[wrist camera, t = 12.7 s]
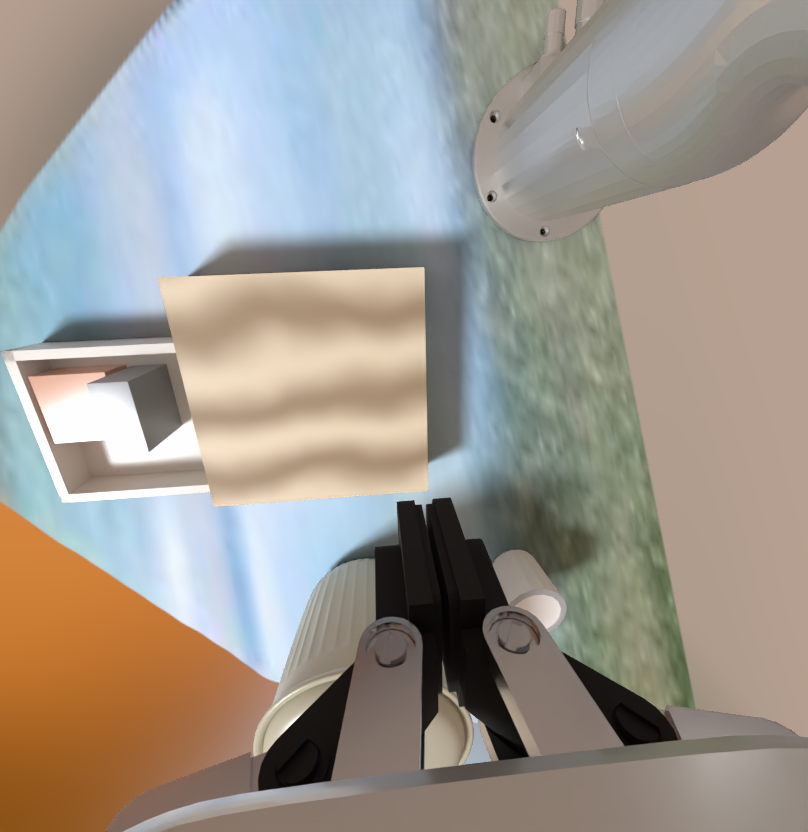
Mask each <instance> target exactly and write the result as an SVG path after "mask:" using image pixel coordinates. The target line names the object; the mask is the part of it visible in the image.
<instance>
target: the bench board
mask: <svg viewBox="0 0 808 832" xmlns="http://www.w3.org/2000/svg"><path fill="white" fill-rule="evenodd" d="M158 282H159V286H160V291H161V295H162V299H163V303H164V307H165V311H166V315H167V319H168V323H169V327H170V331H171V335H172V339H173V343H174V347H175V351H176V355H177V359H178V363H179V367H180V372H181V376H182V380H183V384H184V388H185V392H186V396H187V400H188V404H189V408H190V412H191V416H192V420H193V424H194V428H195V432H196V436H197V440H198V444H199V448H200V452H201V457H202V461H203V465H204V469H205V473H206V477H207V481H208V485H209V489H210V493H211V497H212V501H213V505H214V507H218V506H231V505H245V504H258V503H272V502H285V501H298V500H312V499H325V498H338V497H352V496H365V495H379V494H392V493H405V492H419V491H428V445H427V388H426V331H425V274H424V267H412V268H387V269H362V270H337V271H311V272H286V273H261V274H236V275H211V276H185V277H160V278H158Z"/></svg>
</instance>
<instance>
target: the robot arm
mask: <svg viewBox="0 0 808 832" xmlns="http://www.w3.org/2000/svg"><path fill="white" fill-rule="evenodd" d="M565 19H566V10H565V9H562V8H558V9H554V10H551V11H549V12H548V13H547V14H546V16H545V28H544V55H542V56H541V57H540V58H539V61H538V62H537V63H536V64H534V65H532V66H530V67H528V68H525V69H524V70H522V71H521V72H519V73H518V74H517V75H515V76H514V77H512V78H511V79H510V80H509V81H508V82H507V83H506V84H505V85H504V86H503V87H502V88H501V89H500V90H499V91H498V93H497V94H496V96H495V97H494V98H493V100H492V101H491V103H490V104H489V106H488V108H487V110H486V112H485V113H484V115H483V117H482V119H481V122H480V125H479V127H478V130H477V133H476V136H475V142H474V147H473V154H472V172H473V179H474V186H475V189H476V192H477V195H478V198H479V201H480V203H481V205H482V207H483V208H484V210H485V212H486V214H487V215H488V216H489V217H490V219H491V220H492V221H493V222H494V224H495V225H497V226H498V227H499V228H500V229H502V230H503V231H504V232H505V233H507V234H509V235H511V236H513V237H515V238H517V239H521V240H525V241H529V242H546V241H553V240H557V239H560V238H563V237H567V236H569V235H571V234H573V233H575V232H577V231H578V230H580V229H582V228H583V227H584V226H585V225H587V224H588V223H589V222H591V221H592V220H593V219H594V218H595V217H596V215H597V214H598V213H599V212H600V211H601V210H602V209H603V208H604V207H606V206H610V205H613V204H617V203H620V202H624V201H628V200H631V199H635V198H638V197H642V196H646V195H649V194H653V193H657V192H660V191H664V190H668V189H671V188H675V187H679V186H682V185H685V184H689V183H691V182H694V181H698V180H701V179H705V178H709V177H711V176H714V175H716V174H719V173H722V172H724V171H727V170H729V169H731V168H733V167H735V166H737V165H739V164H741V163H743V162H745V161H747V160H748V159H750V158H751V157H753V156H754V155H756V154H757V153H759V152H760V151H761V150H763V149H764V148H766V147H767V146H768V145H769V144H771V143H772V142H773V141H774V140H776V139H777V138H778V137H779V136H781V135H782V134H783V133H784V132H785V131H786V130H787V129H788V128H789V127H790V126H791V125H792V124H793V123H794V122H795V121H796V120H797V119H798V118H799V117H800V116H801V114H802V113H803V112H804V111H805V110H806V109H807V108H808V0H577V8H576V19H575V29H576V34H575V36H574V38H573V39H572V40H571V41H570V42H569V43H568V44H567V46H566V47H565V48H564V49H563V50H562V44H563V36H564V32H565ZM490 117H493V118H494V119H495V122H494V123H492V122H491V120H490ZM488 195H490V196H491V197H492V200H491V201H488V200H487V196H488ZM541 229H542V230H543V234H542V235H541V234H540V230H541ZM397 517H398V536H399V545H395V546H383V547H375V605H376V621H374V622H373V623H372V624H370V625H369V626H368V627H367V628H366V629H365V630H364V632H363V633H362V635H361V638H360V640H359V643H358V648H357V653H356V658H355V662H354V663H353V664H352V665H351V666H350V667H349V668H348V669H347V670H346V671H345V672H344V673H343V674H342V675H341V676H340V677H339V678H338V679H337V680H336V681H335V682H334V683H333V684H332V685H331V686H330V687H329V688H328V689H327V690H326V691H325V692H324V693H323V694H322V695H321V696H320V697H319V698H318V699H317V700H316V701H315V702H314V703H313V704H312V705H311V706H310V707H309V708H308V709H307V710H306V711H305V712H304V713H303V714H302V715H301V716H300V717H299V718H298V719H297V720H296V721H295V722H294V723H293V724H292V725H291V726H290V727H289V728H288V729H287V730H286V731H285V732H284V733H283V734H282V735H281V736H280V737H279V738H278V739H277V740H276V741H275V742H274V743H273V745H272V746H271V747H270V748H269V750H268V751H267V752H265V753H262V754H260V755H257V756H254V757H252V754H251V752H249V753H246V754H244V755H241V756H239V757H236V758H233V759H230V760H228V761H225V762H222V763H219V764H217V765H214V766H211V767H209V768H206V769H203V770H201V771H198V772H195V773H192V774H189V775H187V776H184V777H181V778H179V779H176V780H174V781H170V782H168V783H165V784H162V785H160V786H157V787H154V788H152V789H149V790H147V791H146V792H144V793H142V794H140V795H138V796H136V797H135V798H134V799H132V800H131V801H130V802H129V803H128V804H127V805H126V806H125V807H124V808H123V809H121V810H120V811H119V813H118V814H117V816H116V817H115V818H114V820H113V821H112V822H111V824H110V825H109V827H108V828H107V830H106V832H808V738H807V737H800V736H798V735H797V734H796V733H795V732H793V731H792V730H790V729H788V728H786V727H784V726H783V725H781V724H779V723H777V722H774V721H771V720H767V719H764V718H759V717H751V716H743V715H736V714H728V713H721V712H714V711H706V710H699V709H692V708H684V707H677V706H669V705H667V706H666V709H665V710H658V709H657V708H656V707H655V706H653V705H652V704H651V703H649V702H648V701H646V700H645V699H644V698H642V697H640V696H638V695H637V694H635V693H633V692H631V691H630V690H628V689H626V688H624V687H623V686H621V685H619V684H617V683H616V682H614V681H612V680H610V679H609V678H607V677H605V676H603V675H602V674H600V673H598V672H596V671H595V670H593V669H591V668H589V667H588V666H586V665H584V664H582V663H581V662H579V661H577V660H575V659H574V658H572V657H570V656H568V655H567V654H565V653H563V652H561V651H560V649H559V648H558V646H557V645H556V643H555V642H554V640H553V639H552V637H551V636H550V634H549V633H548V631H547V630H546V628H545V627H544V625H543V624H542V623H541V622H540V620H539V619H538V618H537V617H536V616H534V615H533V614H532V613H530V612H529V611H527V610H524V609H522V608H519V607H514V606H509V604H508V601H507V599H506V597H505V594H504V592H503V589H502V587H501V584H500V582H499V580H498V577H497V575H496V572H495V570H494V567H493V565H492V563H491V560H490V558H489V555H488V553H487V550H486V548H485V546H484V543H483V541H482V540H481V539H467V540H465V538H464V535H463V532H462V529H461V526H460V523H459V520H458V518H457V515H456V512H455V509H454V506H453V503H452V500H451V498H439V499H433V500H432V504H427V505H426V522H427V528H426V524H425V519H424V514H423V510H422V505H415V502H414V500H413V501H400V502H397ZM442 660H443V666H444V671H445V677H446V682H447V687H448V691H449V693H450V692H456V694H457V699H458V704H459V707H465V709H466V710H467V711H468V712H470V713H471V714H472V715H473V716H475V717H476V718H477V719H478V723H479V727H480V732H481V735H482V737H483V740H484V742H485V745H486V748H487V750H488V753H489V756H490V759H491V761H492V762H483V763H475V764H466V765H458V766H450V767H441V768H433V769H425V730H426V729H427V727H428V726H429V725H430V723H431V722H432V720H433V719H434V718H435V716H436V715H437V713H438V694H441V693H442V691H443V688H442Z"/></svg>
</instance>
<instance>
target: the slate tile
mask: <svg viewBox="0 0 808 832" xmlns="http://www.w3.org/2000/svg"><path fill="white" fill-rule="evenodd" d="M87 387H88V390H89V393H90V396H91V399H92V402H93V405H94V408H95V410H96V413H97V416H98V419H99V422H100V425H101V428H102V431H103V434H104V437H105V440H106V443H107V446H108V448H109V451H110V454H111V455H120V454H134V453H149V452H150V451H151V450H153V449H154V448H155V447H156V446H158V445H159V444H160V443H161V442H162V441H164V440H165V439H166V438H167V437H169V436H170V435H171V434H172V433H174V432H175V431H176V430H177V429H178V428H180V427H181V426H182V421H181V418H180V414H179V410H178V406H177V402H176V399H175V395H174V391H173V387H172V383H171V379H170V376H169V372H168V368H167V364H156V365H138V366H130V367H128V368H125V369H123V370H120V371H118V372H115V373H113V374H110V375H108V376H105V377H103V378H100V379H98V380H95V381H92V382H90V383H87Z"/></svg>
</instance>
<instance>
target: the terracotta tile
mask: <svg viewBox="0 0 808 832" xmlns="http://www.w3.org/2000/svg"><path fill="white" fill-rule="evenodd" d="M125 368H127V366H126V364H118V365H102V366H85V367H68V368H55V369H52V370H49V371H45V372H42V373H39V374H36V375H32V376H29V377H28V378H29V380H30V383H31V385H32V388H33V390H34V393H35V395H36V398H37V400H38V403H39V405H40V408H41V410H42V413H43V415H44V418H45V420H46V423H47V425H48V428H49V430H50V433H51V435H52V438H53V440H54V443H69V442H83V441H97V440H105V437H104V434H103V431H102V428H101V425H100V422H99V419H98V416H97V413H96V410H95V408H94V405H93V402H92V399H91V396H90V393H89V390H88V387H87V383H90V382H92V381H95V380H98V379H100V378H103V377H105V376H108V375H110V374H113V373H115V372H118V371H120V370H123V369H125Z"/></svg>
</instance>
